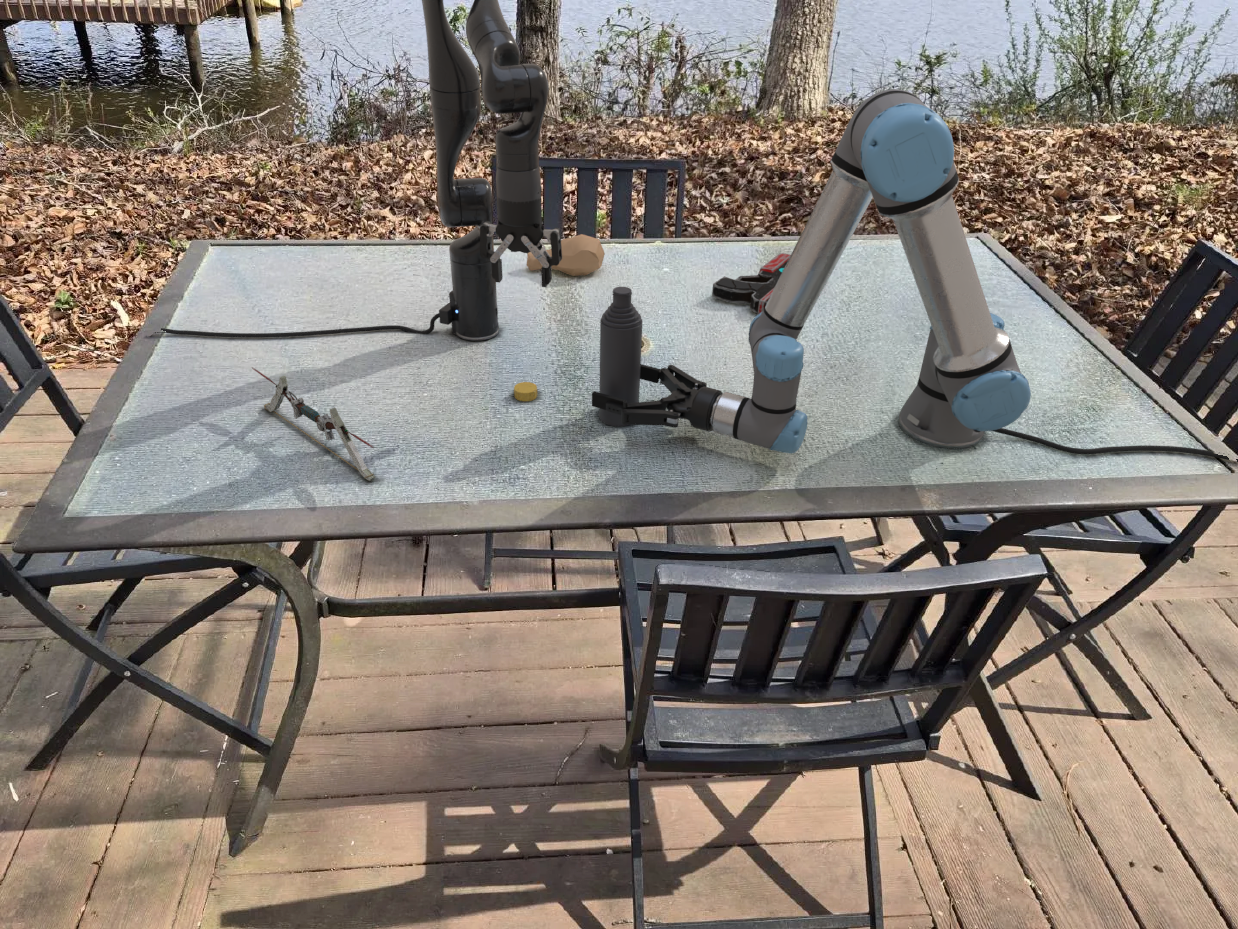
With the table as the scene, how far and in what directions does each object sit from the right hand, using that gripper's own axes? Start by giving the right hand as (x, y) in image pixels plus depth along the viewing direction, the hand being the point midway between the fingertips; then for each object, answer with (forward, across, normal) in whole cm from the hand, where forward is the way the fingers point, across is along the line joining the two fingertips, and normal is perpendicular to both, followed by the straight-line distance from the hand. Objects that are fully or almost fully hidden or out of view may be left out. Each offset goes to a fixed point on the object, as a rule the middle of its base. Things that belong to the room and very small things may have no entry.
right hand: (610, 382), depth 162 cm
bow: (+40, -35, -6) cm, 53 cm away
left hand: (+17, -2, +17) cm, 24 cm away
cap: (+17, -2, -5) cm, 18 cm away
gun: (-7, +72, -6) cm, 73 cm away
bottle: (-2, 0, -6) cm, 7 cm away
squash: (+43, +58, -6) cm, 72 cm away
